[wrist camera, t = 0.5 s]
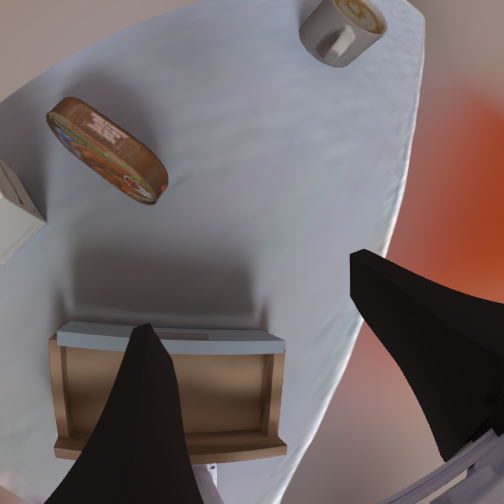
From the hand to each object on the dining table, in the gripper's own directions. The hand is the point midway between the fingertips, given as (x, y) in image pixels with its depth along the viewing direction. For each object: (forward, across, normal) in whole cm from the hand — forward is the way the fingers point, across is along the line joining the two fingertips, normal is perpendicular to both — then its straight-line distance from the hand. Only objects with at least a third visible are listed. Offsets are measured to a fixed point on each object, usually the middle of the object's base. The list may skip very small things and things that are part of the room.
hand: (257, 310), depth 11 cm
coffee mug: (+41, -24, -7) cm, 48 cm away
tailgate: (+15, +8, +15) cm, 23 cm away
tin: (+27, +9, 0) cm, 29 cm away
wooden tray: (+13, +11, +21) cm, 27 cm away
